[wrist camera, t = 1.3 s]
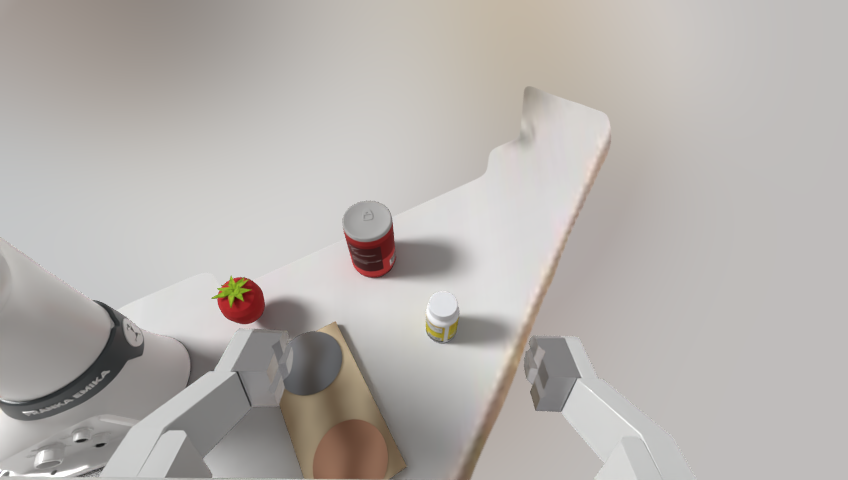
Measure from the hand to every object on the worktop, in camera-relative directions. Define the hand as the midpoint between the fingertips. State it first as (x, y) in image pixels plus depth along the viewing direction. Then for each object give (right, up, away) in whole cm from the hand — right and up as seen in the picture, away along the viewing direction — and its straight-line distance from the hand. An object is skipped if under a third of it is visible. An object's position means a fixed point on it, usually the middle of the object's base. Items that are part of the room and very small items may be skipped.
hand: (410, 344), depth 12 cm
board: (-12, -19, +36) cm, 43 cm away
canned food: (-8, 0, +51) cm, 52 cm away
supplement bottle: (+3, -10, +43) cm, 45 cm away
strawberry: (-26, -9, +44) cm, 52 cm away
